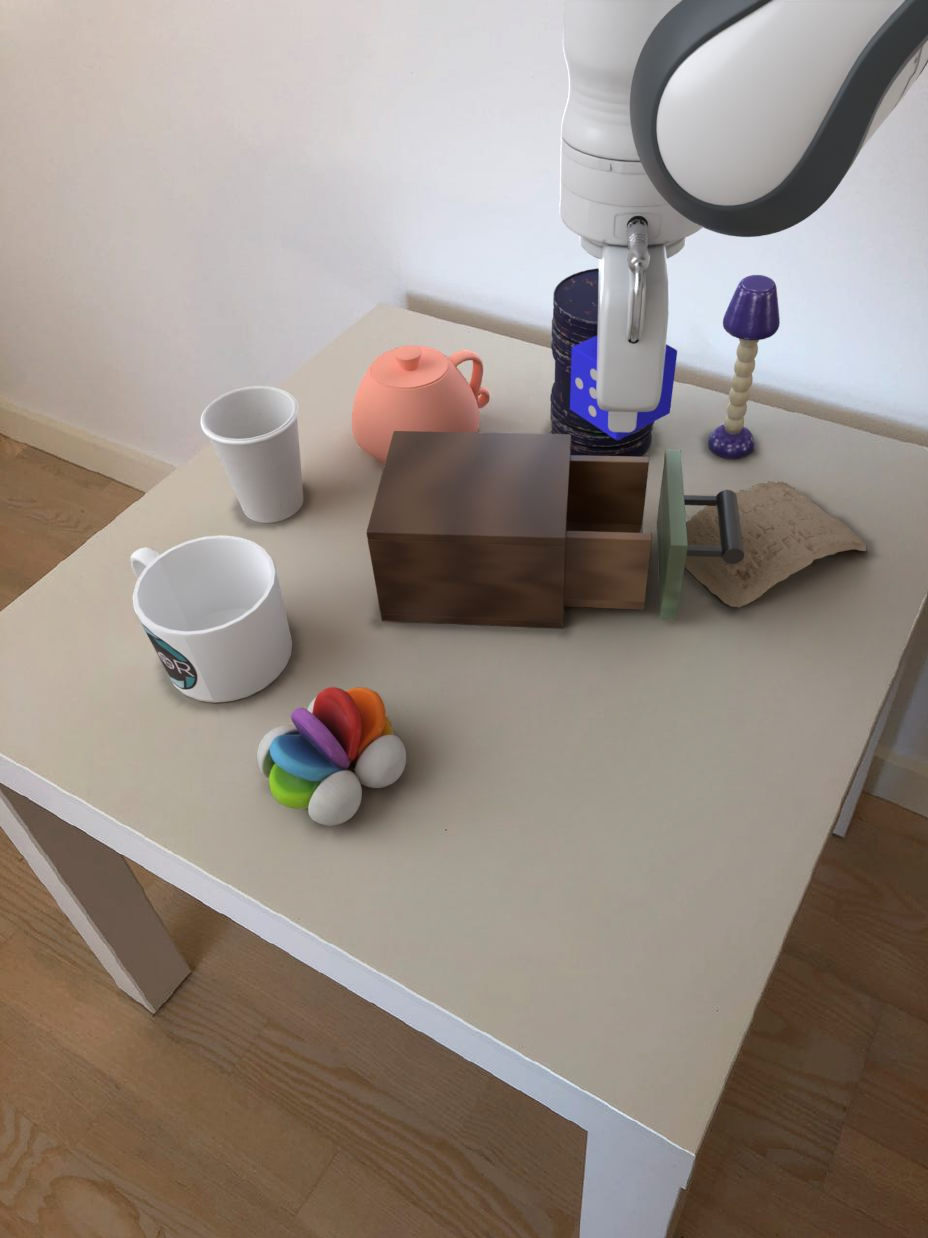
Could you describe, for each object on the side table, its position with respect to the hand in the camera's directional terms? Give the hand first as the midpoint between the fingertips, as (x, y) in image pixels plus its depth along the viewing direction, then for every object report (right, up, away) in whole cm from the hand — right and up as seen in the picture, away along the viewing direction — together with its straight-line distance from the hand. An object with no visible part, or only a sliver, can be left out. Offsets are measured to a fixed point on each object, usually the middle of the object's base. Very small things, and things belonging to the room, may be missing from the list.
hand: (621, 390), depth 65 cm
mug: (-30, -18, +11) cm, 37 cm away
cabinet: (-9, -11, +15) cm, 21 cm away
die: (0, -1, +1) cm, 2 cm away
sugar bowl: (-14, +2, +29) cm, 32 cm away
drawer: (+2, -11, +13) cm, 18 cm away
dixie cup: (-28, -5, +23) cm, 37 cm away
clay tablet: (+15, -10, +15) cm, 23 cm away
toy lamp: (+14, +1, +25) cm, 29 cm away
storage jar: (+3, +2, +27) cm, 27 cm away
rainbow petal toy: (-20, -27, +2) cm, 33 cm away
